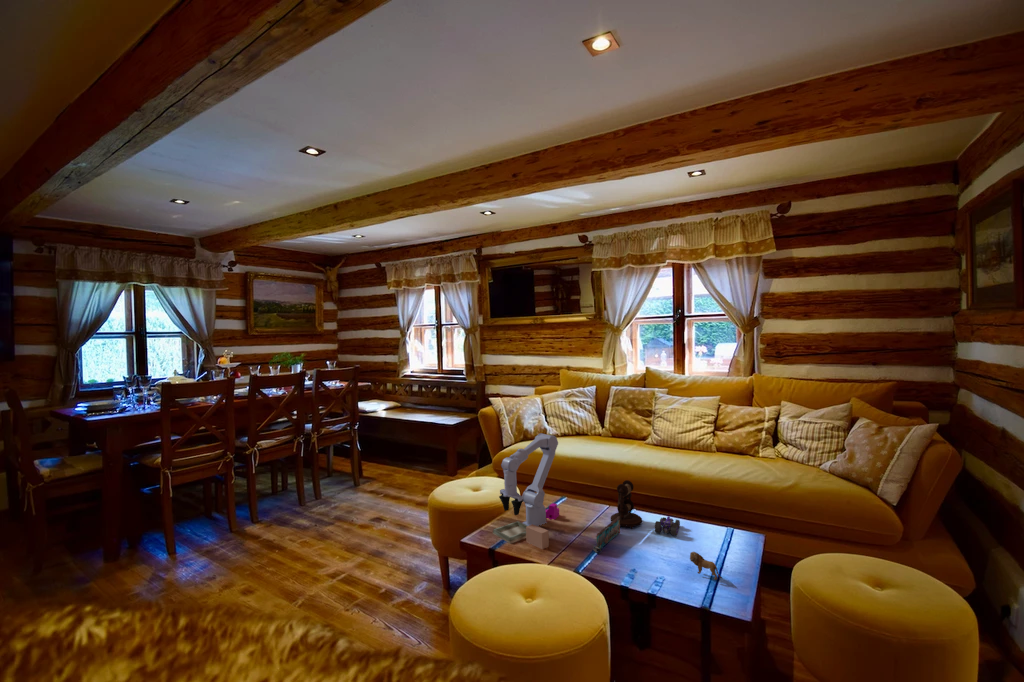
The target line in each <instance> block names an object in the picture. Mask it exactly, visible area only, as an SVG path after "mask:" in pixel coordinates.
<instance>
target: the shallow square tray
mask: <svg viewBox="0 0 1024 682" xmlns="http://www.w3.org/2000/svg"><path fill="white" fill-rule="evenodd" d="M526 527H527V525H525V524H523V522H520V521H519V520H517V521H515V522H511V523H509V524H506V525H503V526H500V527H497V528H496V527H495V528H494V529H492V534H493V535H495V536H496V537H497V538H499V539H501V540H503V541H504V542H506V543H508V544H510V545H511V544H514V543H516V542H520V541H521V540H525V539H526Z"/></svg>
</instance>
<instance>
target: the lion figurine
mask: <svg viewBox="0 0 1024 682" xmlns="http://www.w3.org/2000/svg"><path fill="white" fill-rule="evenodd" d="M689 553H690V555H689V560H690V562H692V564H694V565H695V566H697V569H698V571H697V574H701V573H702V571H703V569H706V570H709V571H710V572H711V576H713V577H714V578H713V579H714V580H715V581H716V580H718V577H719V579H723V577H722V576H721V575H720V574H719V571H718V568H717V565H716V563H715V562H713V561H708V560H706V559H704V557H703V556H702V555H701V554H700V553H698V552H695V551H692V552H689Z"/></svg>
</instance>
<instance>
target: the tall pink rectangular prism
mask: <svg viewBox="0 0 1024 682" xmlns="http://www.w3.org/2000/svg"><path fill="white" fill-rule="evenodd" d="M549 537H550V536H549V530H548V529H545V528H543V527H541V526H535V525H533V524H532V525H529V526H527V527H526V538H525V539H526V540H525V541H526V543H528V544H529V545H531V544H532V546H534V547H536V548H539V549H541V550H545V549H547V548H549V546H550V541H549V539H550V538H549Z"/></svg>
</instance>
